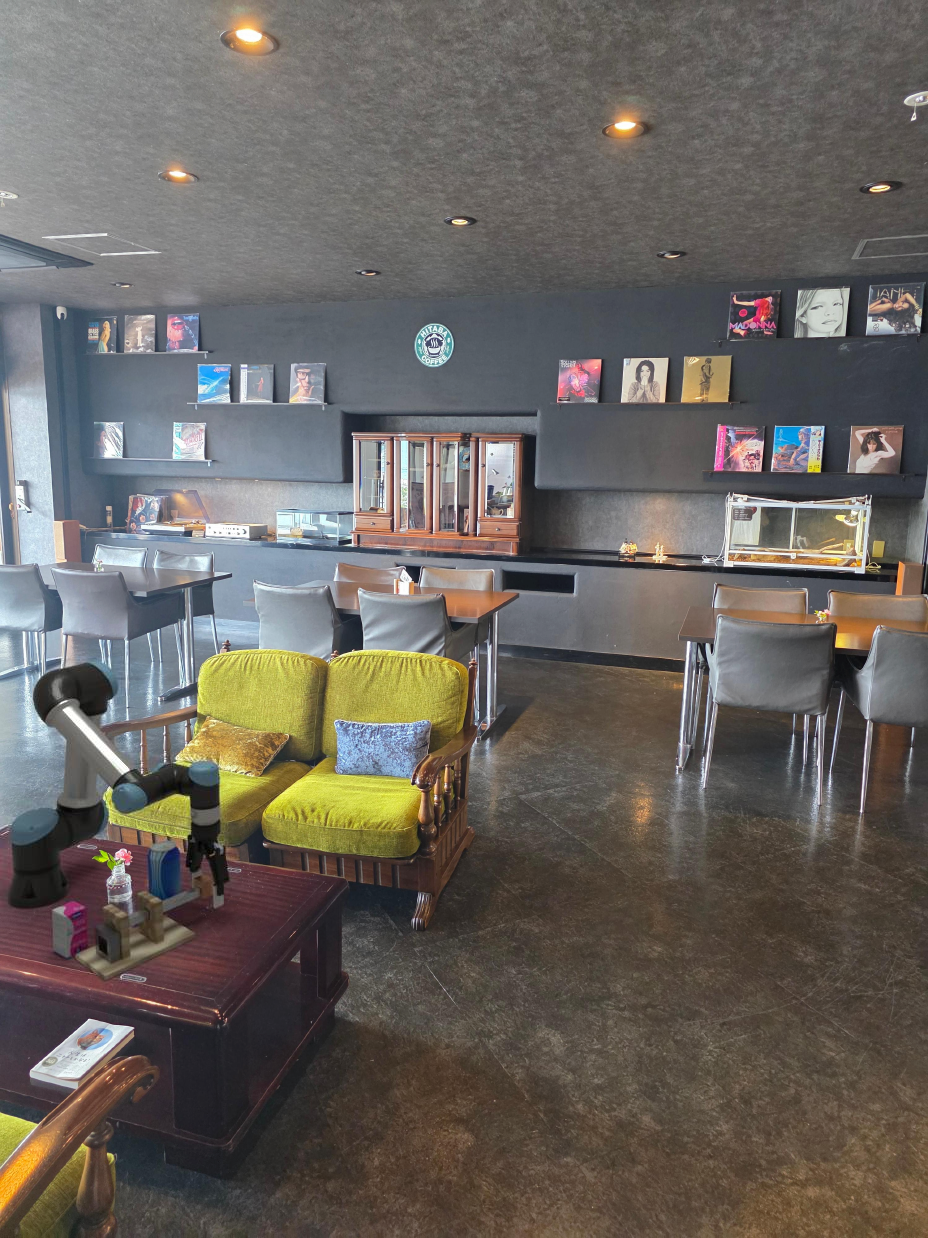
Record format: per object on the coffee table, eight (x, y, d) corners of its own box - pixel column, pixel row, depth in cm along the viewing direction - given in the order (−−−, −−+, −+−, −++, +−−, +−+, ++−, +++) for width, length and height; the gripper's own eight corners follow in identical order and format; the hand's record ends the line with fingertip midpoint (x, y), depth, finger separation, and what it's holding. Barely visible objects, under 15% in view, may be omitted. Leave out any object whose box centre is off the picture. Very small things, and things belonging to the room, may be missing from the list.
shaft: (123, 924, 201) (122, 907, 201) (204, 890, 220) (203, 874, 219) (132, 930, 199) (131, 913, 198) (213, 894, 217) (212, 879, 216)
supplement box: (67, 960, 197) (64, 916, 195) (53, 953, 200) (50, 909, 198) (89, 949, 202) (87, 906, 200) (75, 942, 205) (72, 899, 203)
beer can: (171, 909, 222) (168, 854, 219) (143, 905, 224) (140, 850, 221) (187, 894, 230) (185, 841, 227) (160, 891, 232) (158, 838, 229)
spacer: (96, 953, 198) (94, 926, 197) (105, 949, 200) (104, 922, 199) (111, 964, 194) (109, 937, 193) (120, 959, 196) (119, 932, 195)
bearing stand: (75, 959, 198) (72, 913, 196) (164, 919, 217) (162, 877, 215) (105, 981, 189) (103, 933, 188) (195, 938, 208) (194, 894, 206)
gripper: (169, 813, 219) (172, 892, 222) (218, 836, 206) (220, 919, 209) (194, 805, 224) (196, 882, 228) (242, 826, 211) (244, 907, 215)
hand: (207, 900), depth 219 cm, fingers open, 9 cm apart
